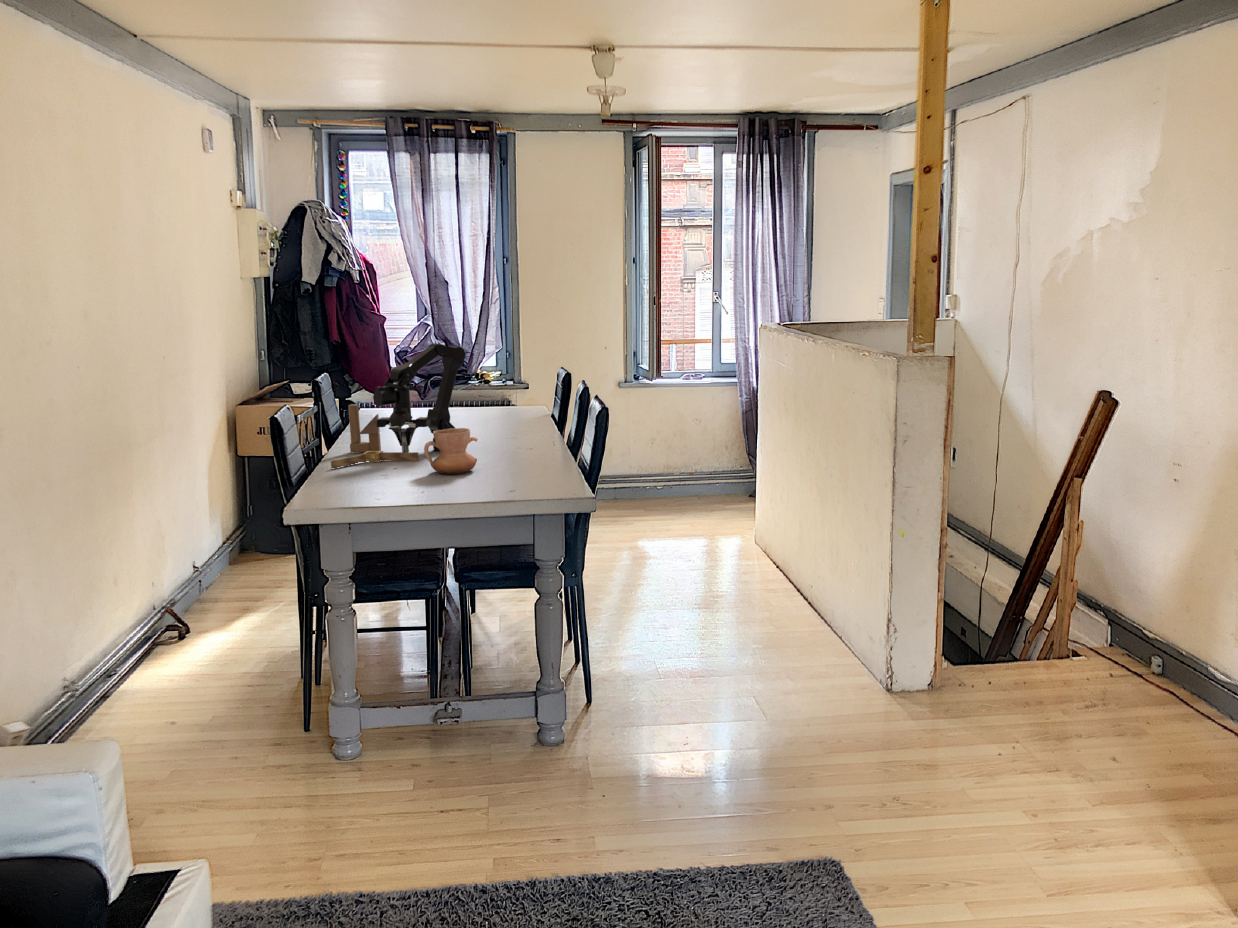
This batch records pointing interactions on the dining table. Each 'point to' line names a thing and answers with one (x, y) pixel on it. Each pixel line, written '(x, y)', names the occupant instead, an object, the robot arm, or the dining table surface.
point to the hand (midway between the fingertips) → (405, 445)
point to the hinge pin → (404, 440)
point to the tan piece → (376, 457)
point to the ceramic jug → (451, 451)
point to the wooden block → (363, 432)
